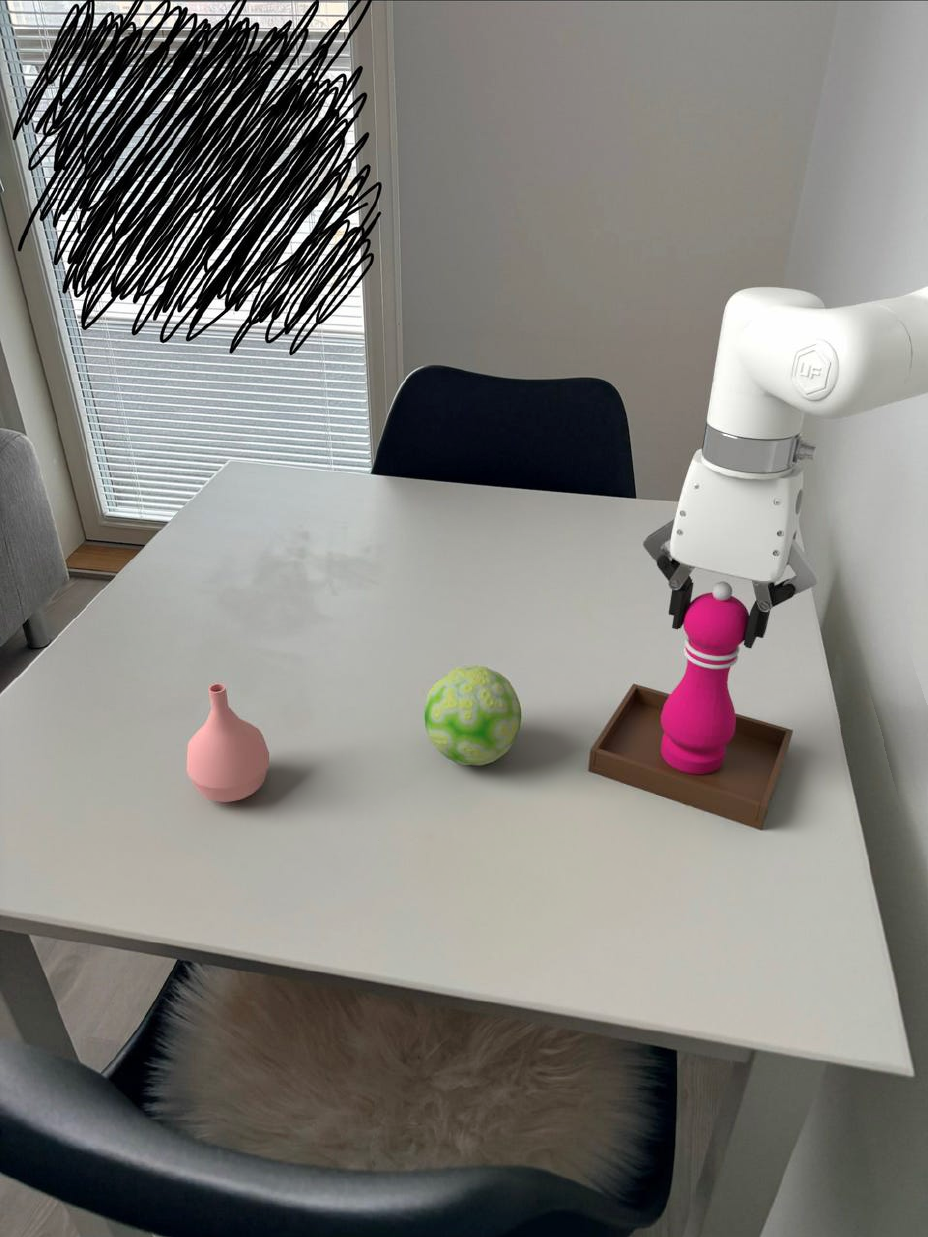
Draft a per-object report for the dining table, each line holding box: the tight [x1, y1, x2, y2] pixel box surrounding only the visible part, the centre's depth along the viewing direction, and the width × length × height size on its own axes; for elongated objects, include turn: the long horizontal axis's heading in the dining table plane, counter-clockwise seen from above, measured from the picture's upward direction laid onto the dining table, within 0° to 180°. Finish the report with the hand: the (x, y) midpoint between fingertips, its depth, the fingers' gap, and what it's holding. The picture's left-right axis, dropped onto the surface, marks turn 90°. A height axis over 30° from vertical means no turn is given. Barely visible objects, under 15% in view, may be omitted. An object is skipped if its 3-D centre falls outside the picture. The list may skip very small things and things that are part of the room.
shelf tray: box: [587, 683, 794, 831], centre depth 89 cm, size 17×13×3 cm
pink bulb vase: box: [185, 682, 270, 803], centre depth 82 cm, size 8×8×12 cm
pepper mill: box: [661, 581, 750, 775], centre depth 84 cm, size 7×7×20 cm
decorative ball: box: [424, 665, 522, 766], centre depth 88 cm, size 10×10×10 cm
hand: (714, 630), depth 82 cm, fingers closed on pepper mill, 6 cm apart
